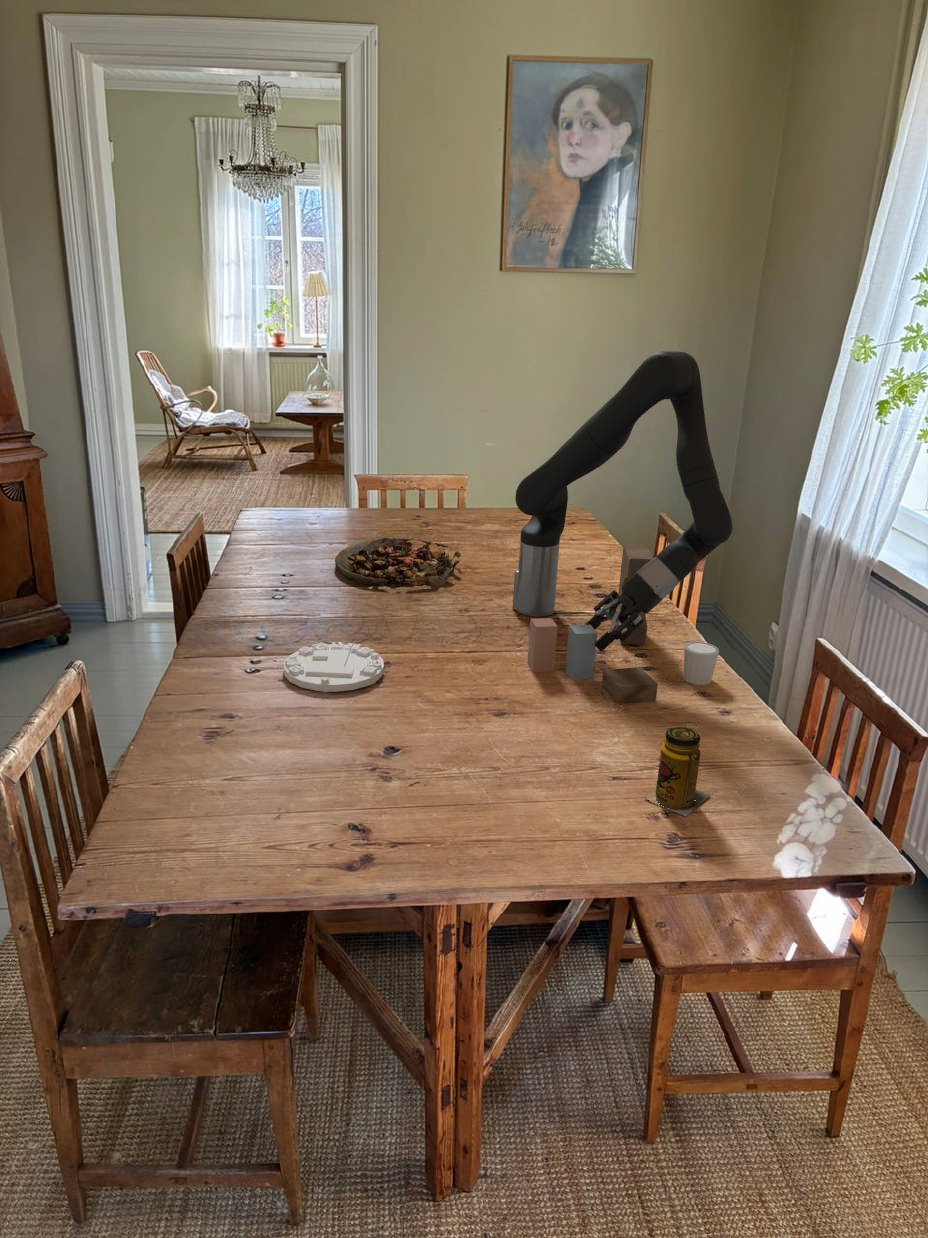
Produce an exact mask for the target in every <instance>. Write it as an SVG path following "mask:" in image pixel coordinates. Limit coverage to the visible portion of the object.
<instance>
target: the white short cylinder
mask: <svg viewBox="0 0 928 1238" xmlns="http://www.w3.org/2000/svg"><path fill="white" fill-rule="evenodd" d="M683 651H684V652H683V655H684V656H683V677H682V678H683V680H684V681H686V682H687V683H690V684H692V685H698V686H703V685H704V686H706V685H709V684H710V683H712V680H713V677H714V676H713V675H714V672H715V668H716V665H717V660H718V656H719V654H720V650H719V648H718V647H717V646H716V645H714V644H712V643H708V642H704V641H691V642H687V643H685V644H684V648H683Z"/></svg>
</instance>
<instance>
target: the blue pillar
mask: <svg viewBox="0 0 928 1238" xmlns="http://www.w3.org/2000/svg"><path fill="white" fill-rule="evenodd" d="M597 640H598V632H597V631H596V629H595V630H594V628H593V627H592V626H591V625H585V624H579V625H578V624H573V625H572V624H571V625H569V626H568V636H567V649H566V660H565V672H566V674H567V675H568V676H569V678H570V679H571V680H591V679H594V671H595V662H596V661H595V660H596V651H597V650H596V649H597V647H596V646H595V645H594V643H595V642H596V641H597Z"/></svg>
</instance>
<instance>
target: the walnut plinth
mask: <svg viewBox="0 0 928 1238" xmlns="http://www.w3.org/2000/svg"><path fill="white" fill-rule="evenodd" d="M601 677H602V678H601V688H602V690H603V691H604V692H605V693H606V694H607V695H608V696H609V697H610V699H612V700H613V701H614V702H615V704H616V705H617V706H619V705H628V704H629V705H630V704H631V705H632V704H640V703H641V704H642V703H652V702H656V701H657V693H658V686H659V684H658V682H656V681H655V680H654V679H653V678H652V677H651V675H649V674H648V673H647V672H646V671H645V670H644V669H643V668H642V667H640V666H638V667H637V666H636V667H623V668H610V669H603V670H602V676H601Z"/></svg>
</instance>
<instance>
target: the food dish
mask: <svg viewBox="0 0 928 1238" xmlns="http://www.w3.org/2000/svg"><path fill="white" fill-rule="evenodd" d="M412 540H413V539H410V538H407V537H406V538H404V537H403V538H401V537H394V538H390V537H387V536H385V537H381V538H376V539H373V540H368V541H362V542H360V543H356V544H353V545H349V546H348V547H346V548H344V549H342V550H341V551H339V552H338V554H336V556H335V559H334V563H335V566H334V570H335V571H336V572H338V574H339V575H343V576H345V577H347V578H348V580H353V581H355V582H356V583H358V584H365V585H374V586H380V587H382V586H387V587H388V588H389V587H390V588H399V587H400V588H401V587H411V586H426V585H427V586H431V587H432V586H433V587H439V586H442V585H444V584H445V583H446V582H447V580H448V579H450V577H451V576H453V577H454V576H456V574H455V567H457V565H458V564H459V563H460V562H461V560H454V558H455V557H456V558H457V559H459V558H461V556H462V554H461V553H460V552H459V551H455V553H454V554H453V556H452V558H451V559H450V554H449V552H448V553H446V551H443V550H440V549H439V550H434V551H431V547H430V546H431V544H432V545H433V544H434V545H436V546H437V547H441V548H449V545H448V544H444V543H439V542H432V541H428V540H425V539H415V541H417V542H423V543H425V544H423V545H422V546H421V547H419V546H417V545H413V543H412V542H410V541H412ZM453 560H454V562H453ZM452 562H453V563H452Z"/></svg>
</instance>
